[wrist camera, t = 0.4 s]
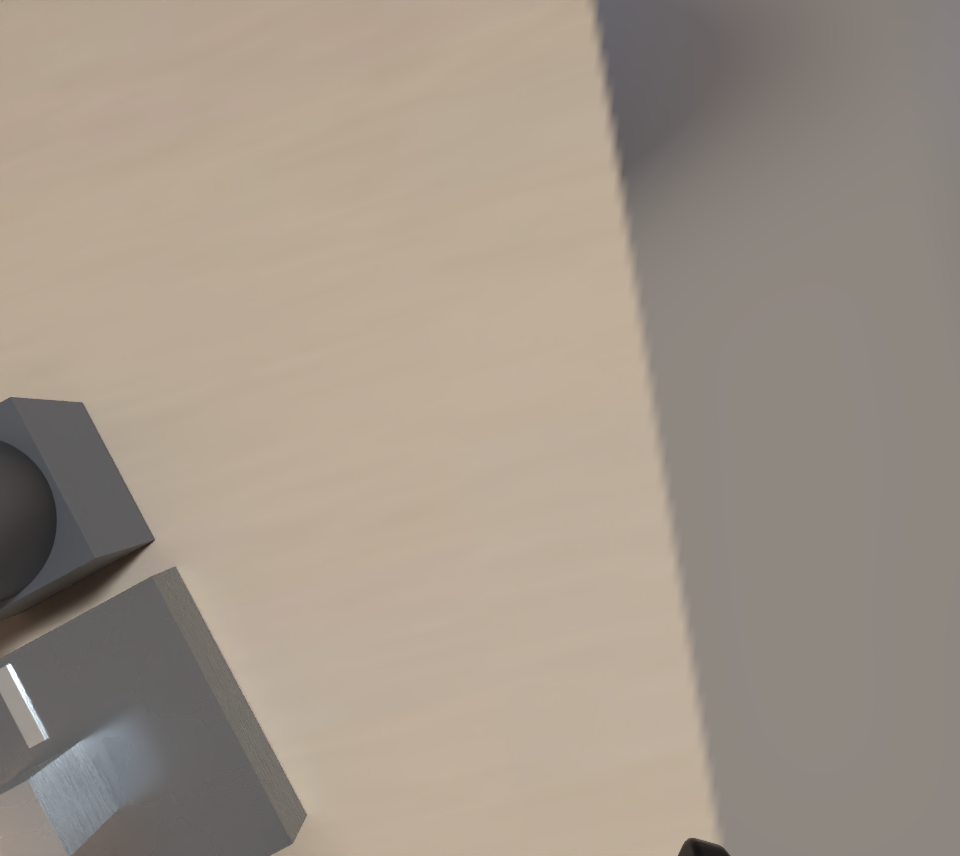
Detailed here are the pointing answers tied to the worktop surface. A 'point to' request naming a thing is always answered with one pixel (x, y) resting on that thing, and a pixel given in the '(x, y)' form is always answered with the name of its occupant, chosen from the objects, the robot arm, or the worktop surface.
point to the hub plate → (136, 739)
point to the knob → (58, 502)
